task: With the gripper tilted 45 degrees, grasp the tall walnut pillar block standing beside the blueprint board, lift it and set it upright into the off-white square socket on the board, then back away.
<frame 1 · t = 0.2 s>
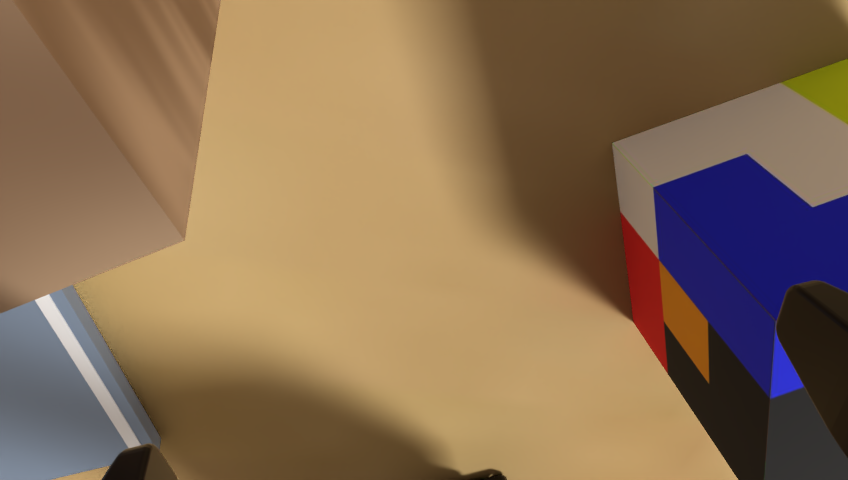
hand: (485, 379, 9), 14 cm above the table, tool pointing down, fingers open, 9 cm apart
puzzle toy: (732, 198, 28), on the table
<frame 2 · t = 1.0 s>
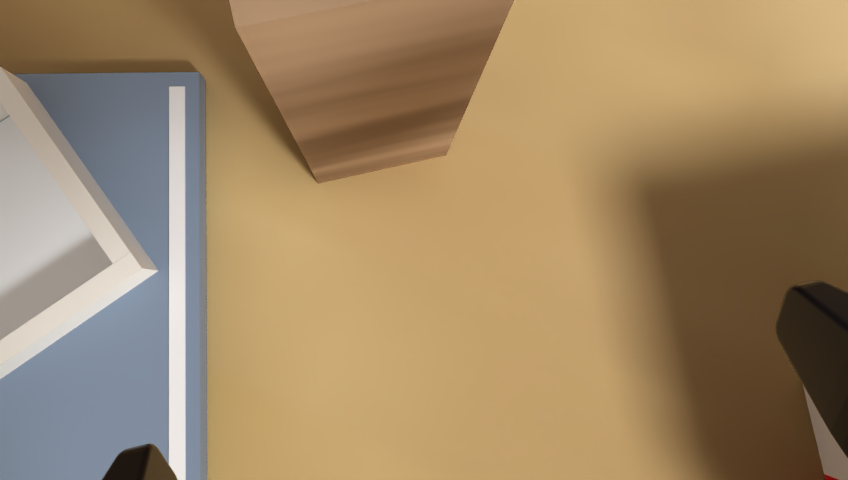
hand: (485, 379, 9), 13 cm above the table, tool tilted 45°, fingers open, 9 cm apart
blueprint board: (16, 400, 21), on the table
pillar: (367, 106, 23), on the table
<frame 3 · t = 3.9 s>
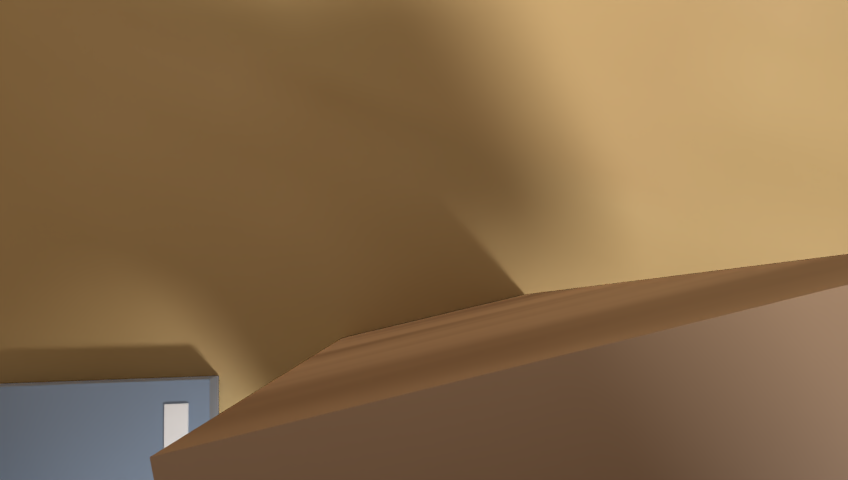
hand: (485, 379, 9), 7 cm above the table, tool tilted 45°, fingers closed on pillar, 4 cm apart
pillar: (456, 409, 16), on the table, touching gripper
when the fingers open (8 cm above the table, at t = 8.0 s): pillar stays where it is, resting on blueprint board.
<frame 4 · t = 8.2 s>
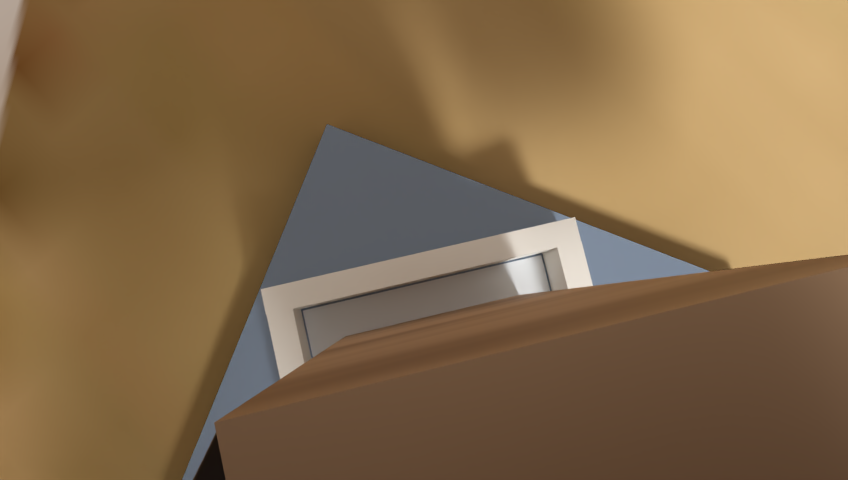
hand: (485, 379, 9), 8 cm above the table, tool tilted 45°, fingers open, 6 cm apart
pillar: (453, 403, 17), point 1 cm above the table, touching blueprint board
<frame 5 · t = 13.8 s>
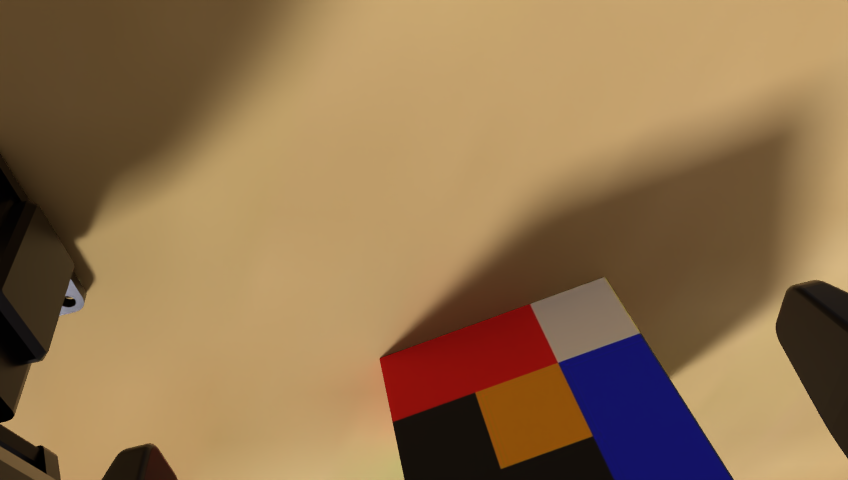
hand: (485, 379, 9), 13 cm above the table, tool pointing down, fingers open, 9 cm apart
puzzle toy: (512, 382, 31), on the table
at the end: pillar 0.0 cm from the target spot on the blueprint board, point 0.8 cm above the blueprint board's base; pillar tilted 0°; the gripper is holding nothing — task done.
